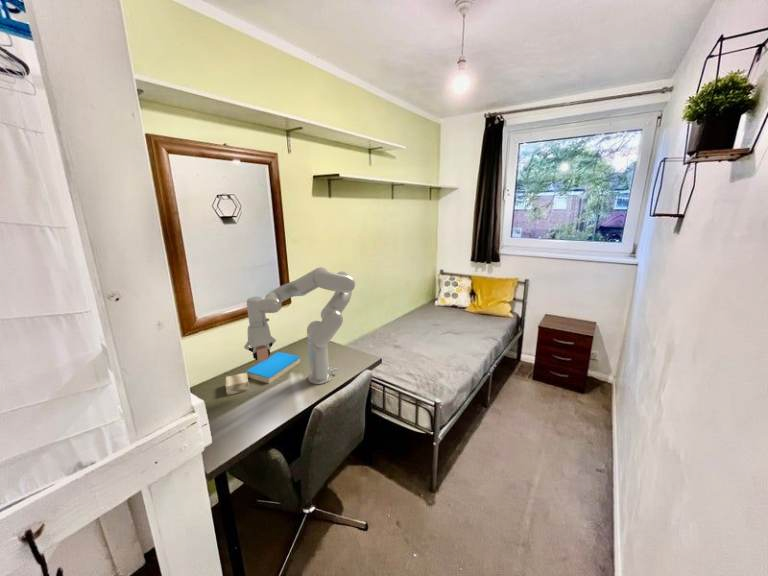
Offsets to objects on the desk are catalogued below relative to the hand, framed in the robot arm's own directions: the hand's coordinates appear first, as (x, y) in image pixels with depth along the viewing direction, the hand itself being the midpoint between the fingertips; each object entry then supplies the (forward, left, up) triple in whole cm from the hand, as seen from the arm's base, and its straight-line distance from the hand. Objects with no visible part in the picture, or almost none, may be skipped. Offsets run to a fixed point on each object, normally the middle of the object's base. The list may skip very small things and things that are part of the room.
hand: (262, 357), depth 157 cm
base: (+11, -10, -18) cm, 23 cm away
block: (0, 0, -1) cm, 1 cm away
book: (-9, -17, -18) cm, 27 cm away
